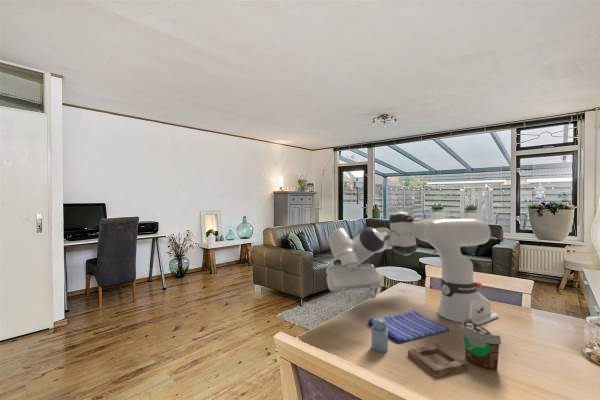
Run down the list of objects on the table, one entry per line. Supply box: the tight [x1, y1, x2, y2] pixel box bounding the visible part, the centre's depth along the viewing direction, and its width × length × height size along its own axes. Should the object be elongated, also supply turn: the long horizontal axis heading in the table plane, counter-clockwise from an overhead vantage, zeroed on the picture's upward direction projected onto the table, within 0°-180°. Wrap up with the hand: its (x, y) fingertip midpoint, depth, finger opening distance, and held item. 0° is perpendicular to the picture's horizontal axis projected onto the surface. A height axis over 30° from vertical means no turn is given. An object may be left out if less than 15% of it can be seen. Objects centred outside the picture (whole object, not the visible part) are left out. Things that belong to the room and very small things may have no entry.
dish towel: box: [367, 310, 450, 344], centre depth 106 cm, size 17×24×3 cm
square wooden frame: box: [407, 343, 469, 378], centre depth 83 cm, size 11×11×2 cm
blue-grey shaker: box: [370, 317, 389, 354], centre depth 91 cm, size 5×5×9 cm
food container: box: [460, 319, 502, 371], centre depth 84 cm, size 12×6×10 cm, turn 5°
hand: (361, 299), depth 101 cm, fingers open, 8 cm apart
